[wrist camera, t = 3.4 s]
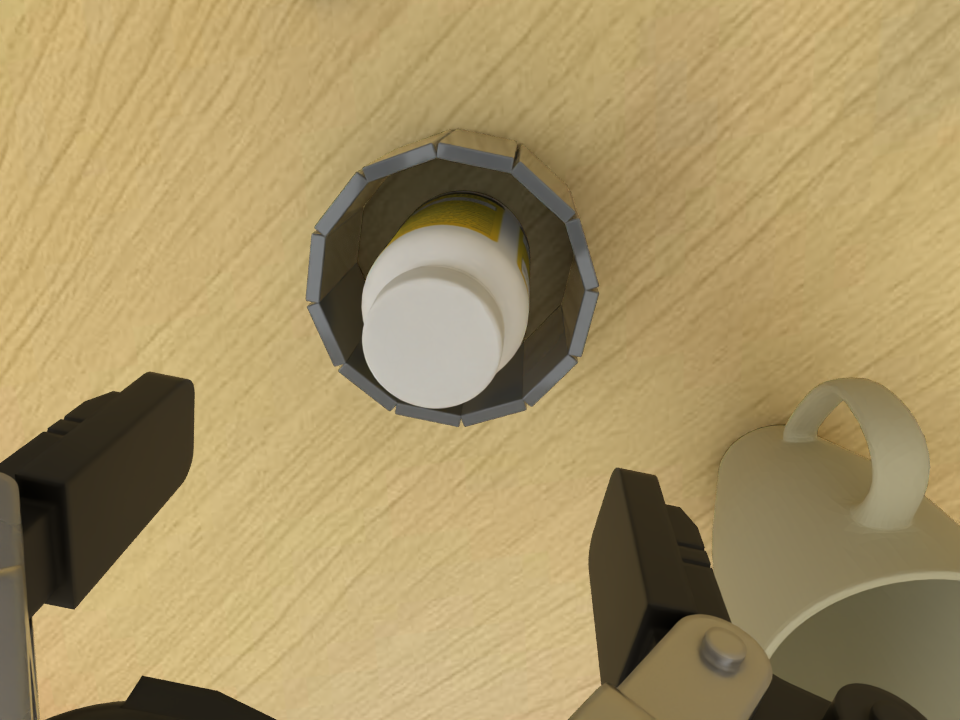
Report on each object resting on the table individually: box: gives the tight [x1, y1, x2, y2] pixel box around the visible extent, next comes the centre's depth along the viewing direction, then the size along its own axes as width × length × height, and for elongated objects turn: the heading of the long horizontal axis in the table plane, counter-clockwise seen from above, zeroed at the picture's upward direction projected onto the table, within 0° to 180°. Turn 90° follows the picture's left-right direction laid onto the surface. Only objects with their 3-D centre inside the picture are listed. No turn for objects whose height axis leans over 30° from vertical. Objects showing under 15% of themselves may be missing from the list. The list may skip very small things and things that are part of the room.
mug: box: [712, 378, 960, 720], centre depth 25 cm, size 11×10×12 cm
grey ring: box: [306, 129, 599, 427], centre depth 25 cm, size 10×10×6 cm
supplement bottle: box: [362, 191, 530, 408], centre depth 23 cm, size 5×5×10 cm
